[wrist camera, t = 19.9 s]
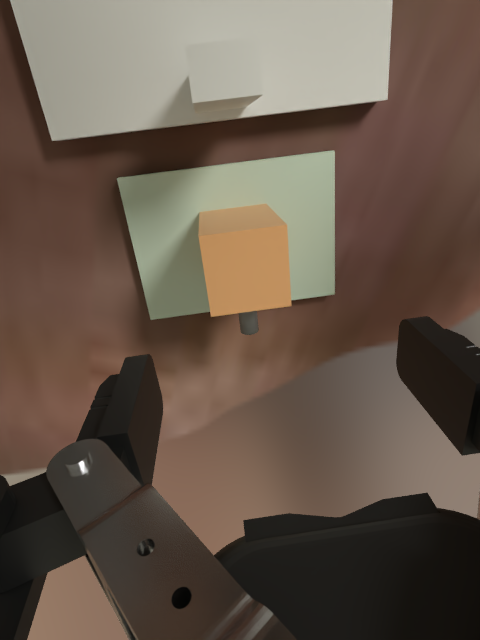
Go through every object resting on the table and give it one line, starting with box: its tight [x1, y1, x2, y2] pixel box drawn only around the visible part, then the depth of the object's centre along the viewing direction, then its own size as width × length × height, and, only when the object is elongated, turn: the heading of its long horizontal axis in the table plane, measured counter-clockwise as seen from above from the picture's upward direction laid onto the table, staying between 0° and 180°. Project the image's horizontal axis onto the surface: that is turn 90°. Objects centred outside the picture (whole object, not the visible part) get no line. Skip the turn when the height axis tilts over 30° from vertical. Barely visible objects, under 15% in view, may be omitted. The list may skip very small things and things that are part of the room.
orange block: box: [198, 204, 291, 335], centre depth 24 cm, size 4×8×7 cm, turn 6°
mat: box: [117, 151, 335, 320], centre depth 27 cm, size 14×10×1 cm
